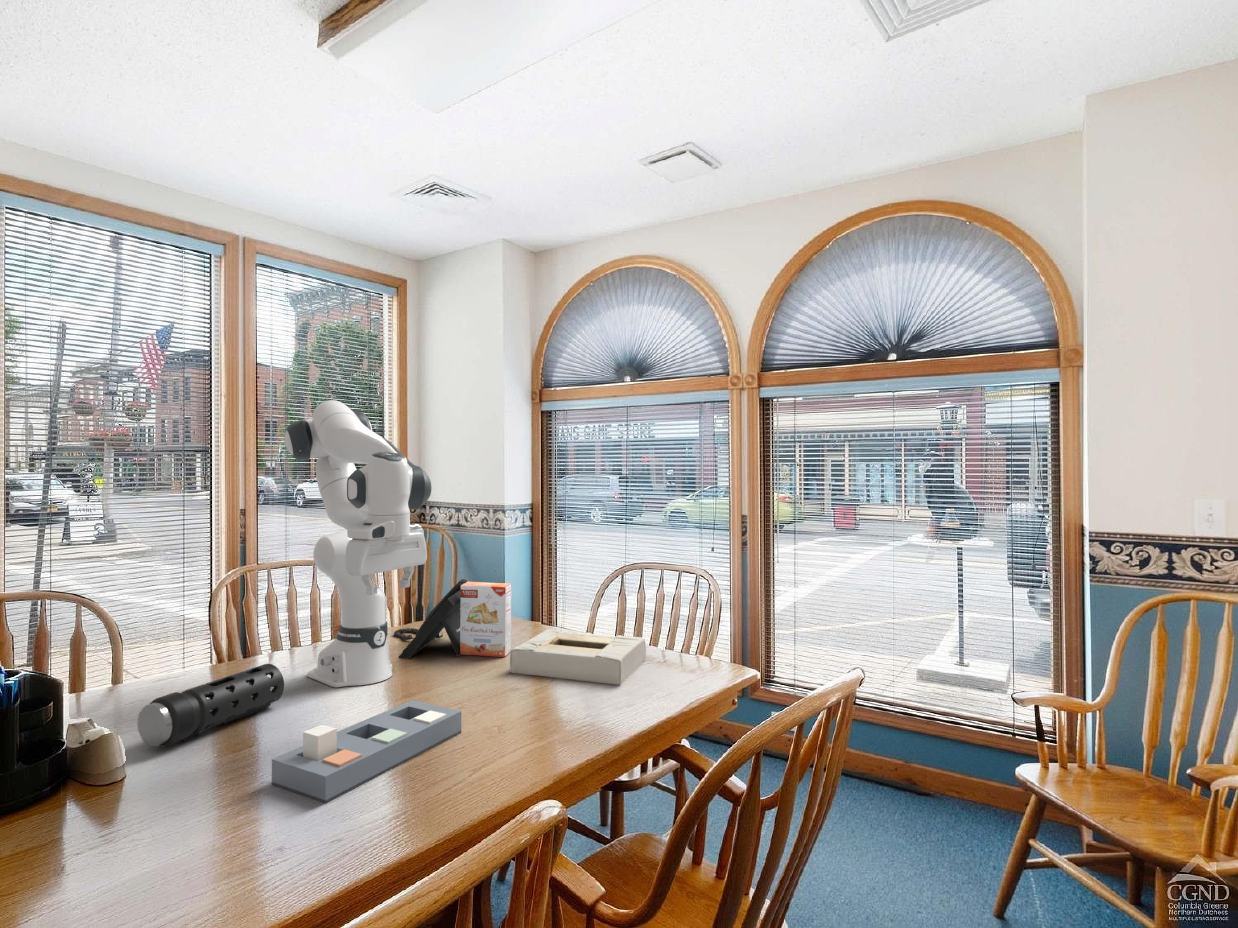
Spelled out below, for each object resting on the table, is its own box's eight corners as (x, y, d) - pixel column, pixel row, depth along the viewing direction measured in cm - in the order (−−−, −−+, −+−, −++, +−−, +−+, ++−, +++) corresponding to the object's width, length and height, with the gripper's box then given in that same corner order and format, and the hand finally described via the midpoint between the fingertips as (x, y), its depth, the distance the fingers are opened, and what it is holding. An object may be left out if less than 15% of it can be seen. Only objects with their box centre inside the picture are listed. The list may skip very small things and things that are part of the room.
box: (508, 675, 186) (621, 687, 177) (508, 646, 186) (622, 656, 177) (543, 653, 208) (646, 662, 199) (544, 627, 208) (646, 635, 199)
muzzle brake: (285, 709, 159) (285, 664, 159) (168, 758, 133) (168, 704, 133) (254, 703, 163) (254, 659, 163) (134, 750, 137) (134, 698, 137)
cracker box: (459, 655, 202) (459, 584, 202) (467, 649, 208) (467, 580, 208) (505, 657, 200) (505, 586, 200) (511, 652, 206) (511, 582, 206)
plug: (303, 776, 124) (303, 731, 124) (321, 767, 128) (321, 724, 128) (318, 781, 123) (318, 736, 123) (336, 772, 126) (336, 728, 126)
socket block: (271, 784, 122) (271, 756, 122) (412, 720, 152) (412, 698, 152) (325, 803, 116) (325, 774, 116) (461, 732, 146) (461, 709, 146)
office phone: (399, 632, 230) (399, 572, 230) (483, 634, 228) (483, 573, 228) (360, 657, 201) (360, 588, 201) (455, 660, 199) (456, 590, 199)
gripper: (412, 522, 161) (412, 581, 161) (340, 530, 142) (340, 597, 143) (433, 523, 158) (433, 584, 158) (362, 532, 139) (362, 600, 140)
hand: (388, 590), depth 150 cm, fingers open, 8 cm apart
